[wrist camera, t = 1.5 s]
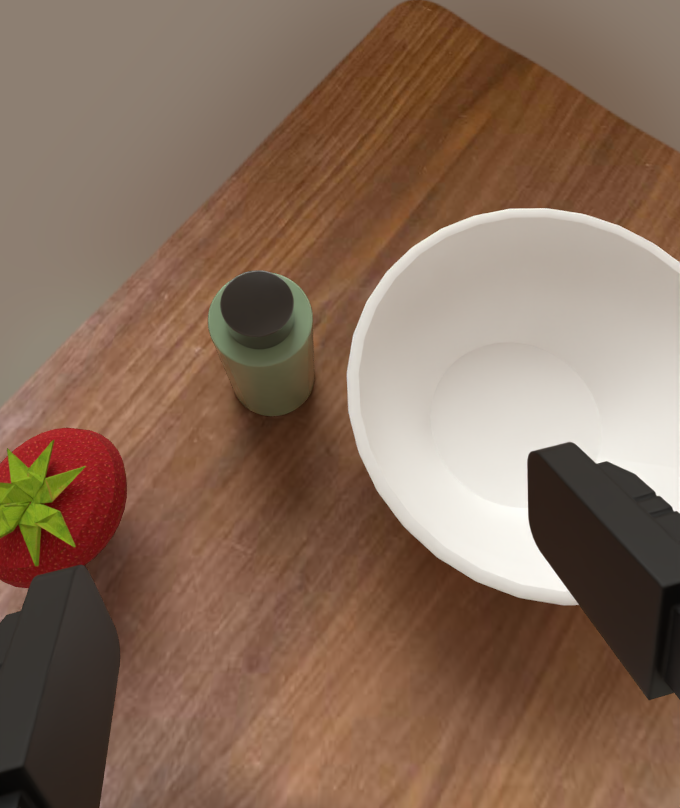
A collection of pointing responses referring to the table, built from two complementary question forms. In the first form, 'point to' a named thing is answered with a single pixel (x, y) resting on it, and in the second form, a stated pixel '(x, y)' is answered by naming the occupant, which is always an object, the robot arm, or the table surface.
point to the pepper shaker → (264, 341)
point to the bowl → (514, 379)
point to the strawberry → (58, 502)
